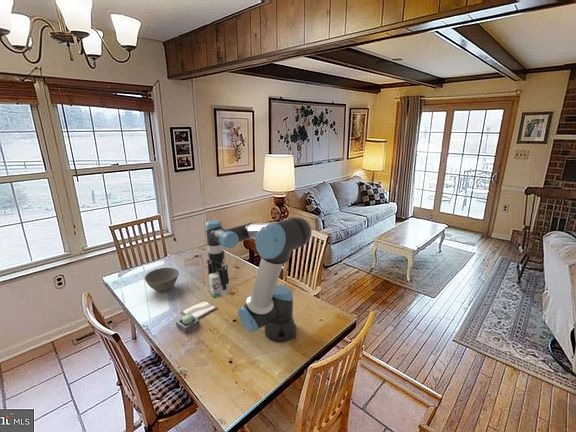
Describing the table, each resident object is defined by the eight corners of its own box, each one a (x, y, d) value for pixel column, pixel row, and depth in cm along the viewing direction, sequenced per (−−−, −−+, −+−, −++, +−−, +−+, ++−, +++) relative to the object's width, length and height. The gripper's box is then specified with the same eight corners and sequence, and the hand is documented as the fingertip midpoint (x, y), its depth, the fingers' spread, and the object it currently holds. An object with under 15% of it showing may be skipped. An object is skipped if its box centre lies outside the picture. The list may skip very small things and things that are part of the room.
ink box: (213, 299, 150) (211, 278, 146) (210, 295, 154) (208, 274, 150) (229, 293, 154) (227, 273, 151) (225, 289, 158) (224, 269, 155)
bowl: (139, 295, 173) (137, 280, 170) (160, 280, 191) (158, 265, 188) (168, 300, 169) (165, 284, 166) (186, 283, 186) (184, 269, 183)
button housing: (199, 325, 148) (199, 320, 147) (185, 333, 142) (184, 328, 141) (190, 318, 153) (190, 313, 152) (176, 326, 147) (175, 321, 146)
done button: (195, 322, 147) (194, 317, 147) (186, 327, 144) (185, 322, 143) (189, 318, 150) (188, 313, 150) (180, 323, 147) (179, 318, 146)
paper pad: (217, 308, 162) (217, 307, 161) (193, 321, 150) (193, 320, 150) (204, 300, 169) (204, 299, 169) (180, 312, 158) (180, 311, 157)
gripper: (234, 253, 144) (237, 295, 151) (210, 244, 156) (214, 284, 162) (222, 258, 139) (225, 302, 145) (198, 249, 150) (202, 289, 157)
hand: (219, 292), depth 154 cm, fingers closed on ink box, 6 cm apart
